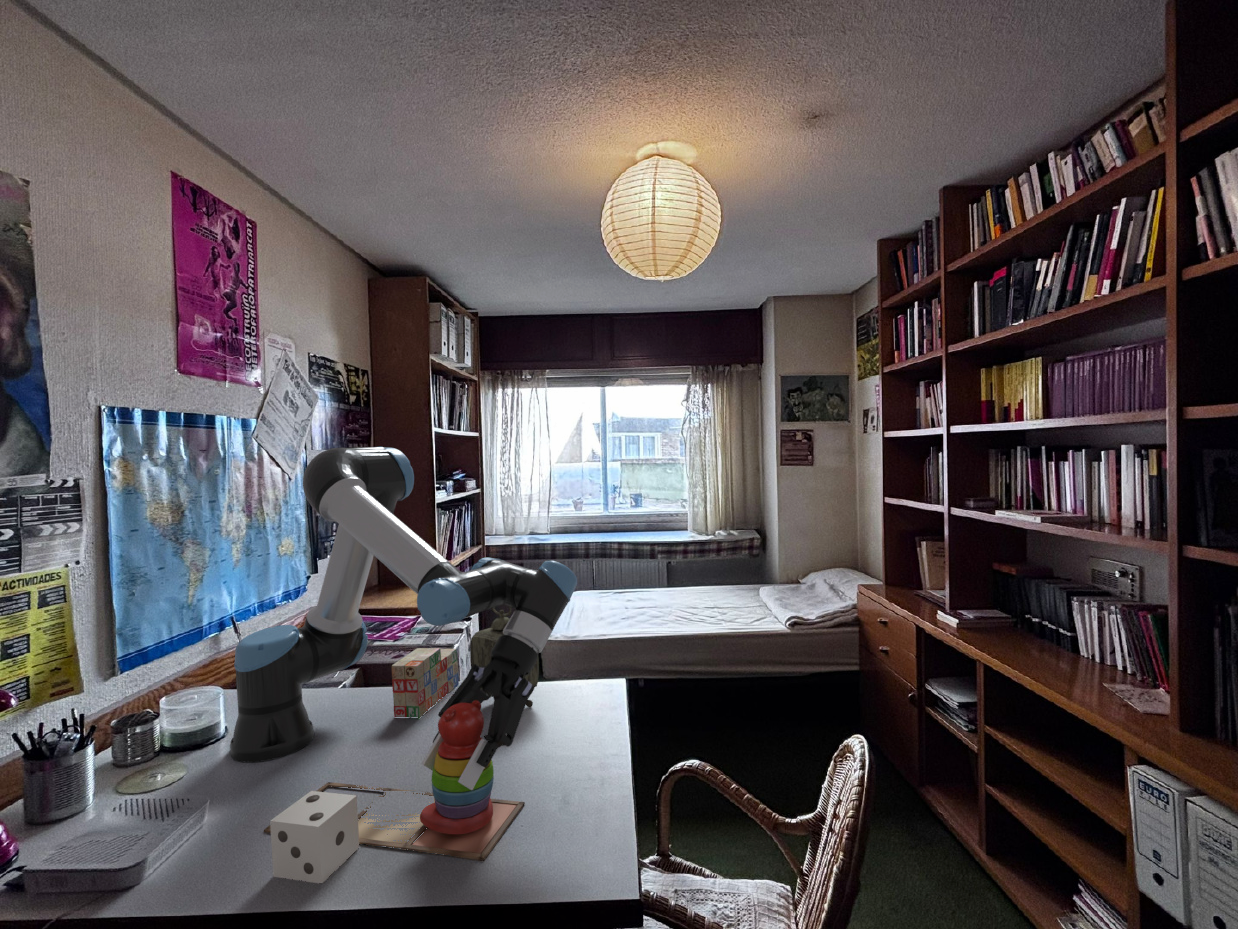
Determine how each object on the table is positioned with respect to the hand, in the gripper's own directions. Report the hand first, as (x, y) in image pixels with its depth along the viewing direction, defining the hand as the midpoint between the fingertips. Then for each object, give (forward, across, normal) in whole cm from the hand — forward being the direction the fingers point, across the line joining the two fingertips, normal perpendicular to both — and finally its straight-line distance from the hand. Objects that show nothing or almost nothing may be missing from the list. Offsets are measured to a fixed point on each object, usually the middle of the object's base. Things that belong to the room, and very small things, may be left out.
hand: (446, 776), depth 97 cm
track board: (+8, +11, -5) cm, 15 cm away
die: (+17, +11, +4) cm, 21 cm away
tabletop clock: (-20, +32, -34) cm, 50 cm away
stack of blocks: (-14, +51, -28) cm, 60 cm away
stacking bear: (+4, +1, -8) cm, 9 cm away
